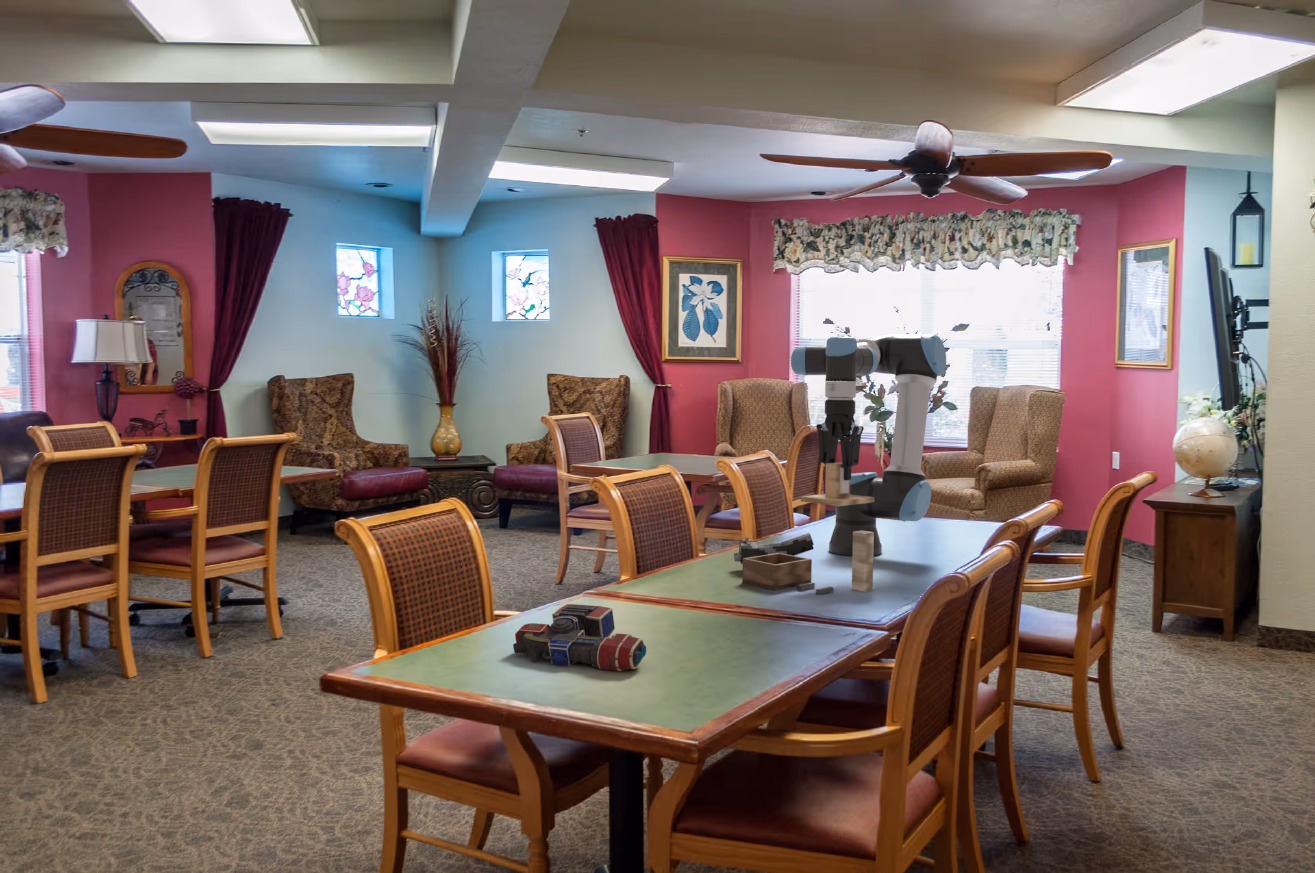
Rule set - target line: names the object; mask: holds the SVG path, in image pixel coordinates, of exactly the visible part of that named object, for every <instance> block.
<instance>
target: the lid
mask: <svg viewBox="0 0 1315 873" xmlns="http://www.w3.org/2000/svg"><path fill="white" fill-rule="evenodd" d="M841 465H843V464H842V461H838V462H835V463H826V465H825V485H824V486H825V487H824V489H825V492H824V493H823V494H822V493H820V494H812V495H803V496H801V497H800V502H802V503H803V502H804V503H811V504H818V505H825V506H832V507H836V506H846V505H854V504H863V503H871V502H874V497H867V496H859V495H851V494H850V480H849V493H844V494H839V488H840V467H841Z"/></svg>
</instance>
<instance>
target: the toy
mask: <svg viewBox="0 0 1315 873" xmlns="http://www.w3.org/2000/svg"><path fill="white" fill-rule="evenodd" d="M749 537H750V536H749V535H745V538H744V540H739V543H738V544H739V547H738V548H739V549H738V551H737V552H733V560H734V562H735V563H736V562H738V563H740V564H741V565H743V558H749V557H756V556H762V555H768V554H775V553H782V554H787V555H792V556H797V555H800V554H803V553H806V552H809V551H812V550H814V548H815V547H814V541H813V538H812V536H811V533H810V532H807V533H804V534H801V535H799V536H795V537H793V538H790V539H787V540H784V541H781V542H779V543H778V542H777V543H776V542H775V543H763V544H757V541H756V540H749Z"/></svg>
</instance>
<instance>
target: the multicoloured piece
mask: <svg viewBox="0 0 1315 873" xmlns="http://www.w3.org/2000/svg"><path fill="white" fill-rule="evenodd" d="M551 616H552V623H551V624H547V623H534V622H532V623H526V624H524V625H522V626H521V627H520V628H519V629H518V630H517V631H516V632H515V634H514V637H515V643H513V645H512V647H513V653H515V654H521V653H525V656H526V658H528V659H529V660H530V661H533V662H534V661H536V660H538V661H547V662H550V663H551V664H552V665H561V666H565V667H566V666H567V667H571V666H572V665H573V664H575V663H582V664H588V665H592V668H594V669H600V670H603V671H614V672H622V671H624V670H635V669H637V667H638V666H639V665H640V664H641V662H642V661H643V659H644V658H645V656H646V655H647V646H646V644H645V643H644V640H643V638H639V637H636V636H635V637H634V636H633V635H632V634H629V633H628V634H627V633H615V634H613V633H614V631H615V630H616V627H615V621H614V614H613V608H612V607H606V606H601V605H592V604H591V605H588V604H578V603H576V604H575V603H566V604H564V605H563V606H560V607H559V608H558V609H557V610H555V611H554V612H553V613H552V615H551ZM611 635H612V636H611Z"/></svg>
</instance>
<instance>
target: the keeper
mask: <svg viewBox="0 0 1315 873" xmlns="http://www.w3.org/2000/svg"><path fill="white" fill-rule="evenodd" d="M815 585H816V584H815V582H812V581H811V583H806V584H792V587H791V588H794V587H796V589H797V590H798V591H800V592H801V591H806V590H812V589H815V595H817V594H818V595H817V596H821V595H826V594H830V592H831V593H833V592H834V586H826V587H821V588H816V586H815ZM820 594H821V595H820Z"/></svg>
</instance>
